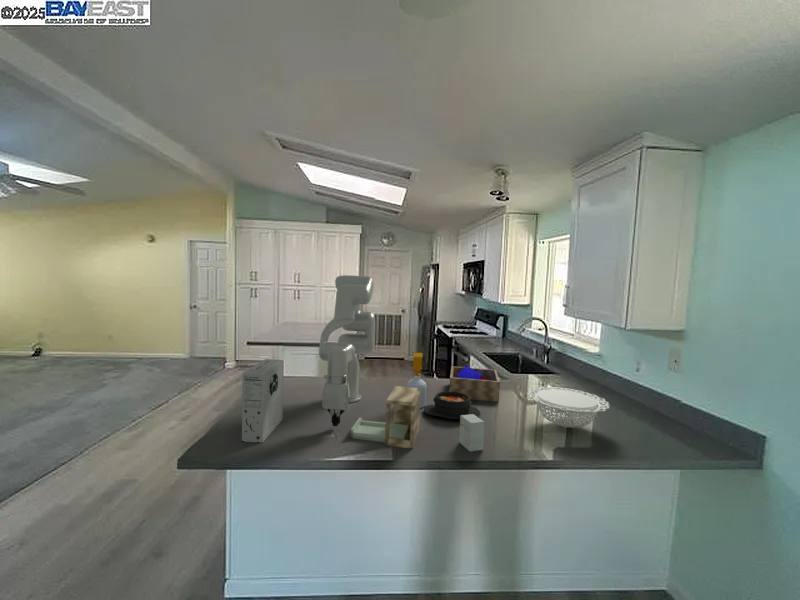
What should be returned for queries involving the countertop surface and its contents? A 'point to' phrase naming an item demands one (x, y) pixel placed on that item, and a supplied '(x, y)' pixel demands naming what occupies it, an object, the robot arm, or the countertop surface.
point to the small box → (471, 432)
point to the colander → (567, 405)
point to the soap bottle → (418, 378)
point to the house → (470, 374)
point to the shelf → (403, 415)
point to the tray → (377, 431)
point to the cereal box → (262, 400)
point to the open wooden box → (476, 385)
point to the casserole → (451, 405)
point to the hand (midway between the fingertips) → (335, 424)
